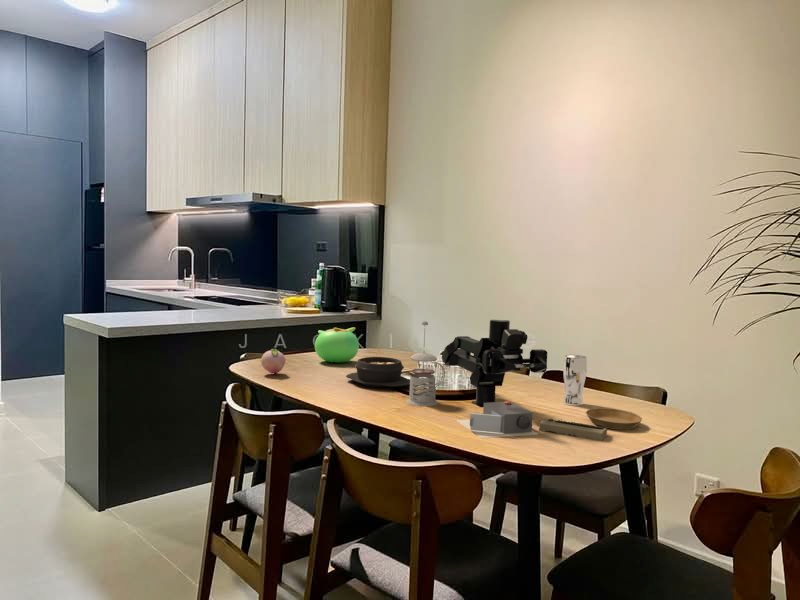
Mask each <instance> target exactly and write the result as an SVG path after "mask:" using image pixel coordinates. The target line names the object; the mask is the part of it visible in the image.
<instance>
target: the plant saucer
mask: <svg viewBox="0 0 800 600" xmlns="http://www.w3.org/2000/svg"><path fill="white" fill-rule="evenodd" d="M585 414H586V417H588V419H589V420H590V421H591V422H592V424H594V425H595V426H596V425H597V426H599V427H602V426H603V428H606V427H607V429H612V428H613V429H614V430H631V429H633V428H635V427H637V426H638V425H639V424H640V423H641V422H642V421H643V418H642V417H641V416H640V415H638V414H636V413H633V412H631V411H627V410H622V409H614V408H606V407H605V408H599V407H598V408H591V409H587V410H586V411H585ZM630 428H631V429H630Z"/></svg>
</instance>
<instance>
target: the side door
mask: <svg viewBox="0 0 800 600" xmlns="http://www.w3.org/2000/svg"><path fill="white" fill-rule="evenodd" d="M503 424H504V416H500V415H488V414H483V413H476V412H471V413H470V426H471V427H470V430H469V431H471V430H476V431H486V432H497V433H503Z"/></svg>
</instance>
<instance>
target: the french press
mask: <svg viewBox="0 0 800 600" xmlns="http://www.w3.org/2000/svg"><path fill="white" fill-rule="evenodd" d="M421 325H422V326H429V323H428V321H427V320H424V321H422V322H421ZM423 333H424V334H423V335H424V337H423V347H425V345H426V344H425V342H426V341H425V339H426V329H424V332H423ZM437 358H438V357H436V356H435V355H433V354H431V353H428V352H425V351H422V352H417V353H415V354H412V355H411V356H410V360H411V361H415V362H420V363H421V362H422V368H413V369H412V370H411V371H410V372H411V373H412V374H410V375H409V377H410V378H409V379H410V384H409V398H407V400H405V401H406V403H407V404H408V405H411V406H417V407H432V406H433V407H434V406H437V405H438V404H439V403H438V401H437V400H436V390H437V387H439V386H441V385H442V383H443V382H444V380H445V377H446V371H445V368H444V366H443V365H442V364H441V363H439V362H437ZM425 362H426V363H427V362H428V363H429V362H430V363H431V362H434V367H435V368H437V365H438V366H440V368H441V371H442V372H443V374H441V375H442V376H441V377H440V380H439V381H438V382H437V383H436V377H437V376H436V375H434V374H436V373H435V372H436V371H435V370H434V369H429V368H425V366H424V365H425ZM423 377H424V378H423Z"/></svg>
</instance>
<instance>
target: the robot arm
mask: <svg viewBox="0 0 800 600" xmlns="http://www.w3.org/2000/svg"><path fill="white" fill-rule="evenodd" d="M510 323H511V321H510V320H507V319H506V320H505V319H490V320H489V330H488V332H489V334H488V335H489V336H488V337H481V338H480V340H478V339H475V338H472V337H470V336H467V335H465V336H464V335H463V336H455V337H454V338H453V340H452V342H450V343H449V344H447V345H446V346H445V347H444V349H443V351H442V354H441V361H442V362H443V364H444V363H445V364H444V366H446V367H447V366H448V367H459V368H462V369H464V370H466V371H467V372H470V373H471V374H470V376H469V383H470V385H472V386H474V387H476V389H475V390H476V391H475V392H476V395H475V400H472V401H471V404H473V405H476V406H477V407H479V408H483V407H484V403H490V402H496V387H502V386H503V382H504V379H505V375H506V373H509V372H518V371H521V368H528V369H529V370H530V372H531V373H535V374H536V373H546V371H547V369H548V351H547V350H545V349H542V348H538V349H536V348H535V349H534V348H533V349H531V350H530V351H529V358H523V353H524V349H523V348H521V347H522V345H526V344H527V341H528V335H527V334H526V333H525V331H522V330H519V329H518V328H517V329H513V328H512V329H510V328H511V327H510ZM471 355H473V356H471Z"/></svg>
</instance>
